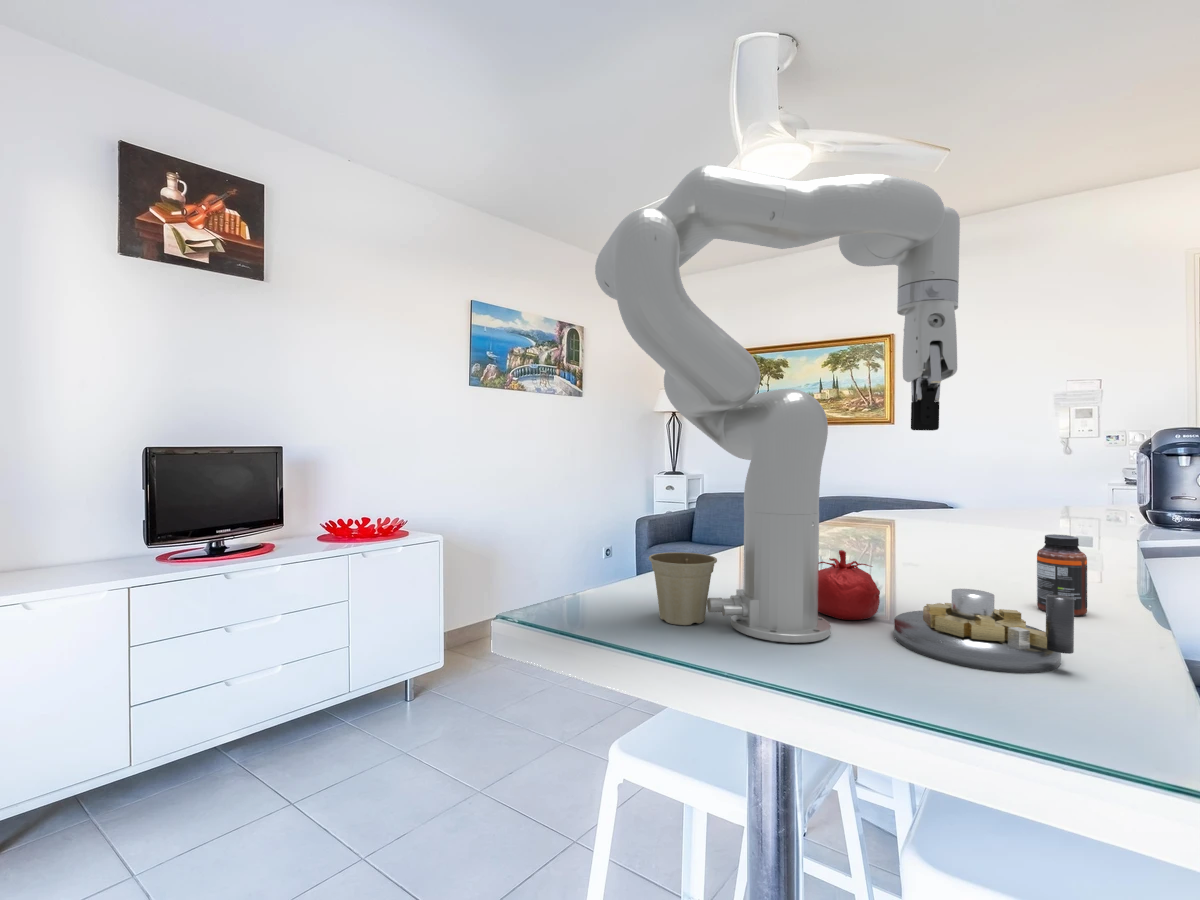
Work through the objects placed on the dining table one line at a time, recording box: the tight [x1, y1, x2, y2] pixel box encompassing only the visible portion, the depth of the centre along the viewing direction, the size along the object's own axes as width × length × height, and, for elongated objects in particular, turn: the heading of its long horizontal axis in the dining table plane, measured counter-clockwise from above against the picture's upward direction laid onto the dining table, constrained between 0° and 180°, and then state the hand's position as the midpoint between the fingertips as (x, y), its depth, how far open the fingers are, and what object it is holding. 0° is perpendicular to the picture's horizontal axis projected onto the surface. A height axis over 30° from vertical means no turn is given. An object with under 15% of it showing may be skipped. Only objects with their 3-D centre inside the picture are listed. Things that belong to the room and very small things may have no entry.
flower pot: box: [648, 551, 718, 626], centre depth 81 cm, size 9×9×9 cm
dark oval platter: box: [893, 588, 1062, 674], centre depth 71 cm, size 17×17×6 cm
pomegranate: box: [818, 549, 881, 621], centre depth 84 cm, size 10×10×9 cm
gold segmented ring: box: [922, 595, 1075, 655], centre depth 69 cm, size 15×10×6 cm, turn 30°
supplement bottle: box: [1036, 533, 1088, 617], centre depth 87 cm, size 6×6×11 cm
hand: (924, 429), depth 82 cm, fingers closed
